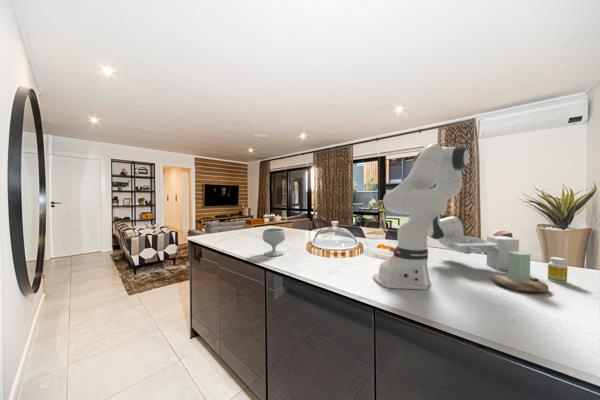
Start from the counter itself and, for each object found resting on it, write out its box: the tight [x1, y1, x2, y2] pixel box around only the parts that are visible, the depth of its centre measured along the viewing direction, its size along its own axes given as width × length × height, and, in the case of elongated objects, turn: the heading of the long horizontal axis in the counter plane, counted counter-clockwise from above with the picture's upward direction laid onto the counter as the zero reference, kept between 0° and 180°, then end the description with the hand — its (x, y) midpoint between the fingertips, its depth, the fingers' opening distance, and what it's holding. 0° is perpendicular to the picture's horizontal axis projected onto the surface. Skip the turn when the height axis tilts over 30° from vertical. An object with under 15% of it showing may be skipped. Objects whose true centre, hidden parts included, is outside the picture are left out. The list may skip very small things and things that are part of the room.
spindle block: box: [507, 251, 531, 283], centre depth 89 cm, size 4×4×11 cm
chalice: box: [262, 227, 286, 257], centre depth 138 cm, size 14×14×15 cm
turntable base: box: [498, 284, 541, 294], centre depth 89 cm, size 13×13×1 cm
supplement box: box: [486, 235, 520, 271], centre depth 111 cm, size 9×9×15 cm
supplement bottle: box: [547, 256, 568, 284], centre depth 94 cm, size 5×5×10 cm
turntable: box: [491, 273, 549, 293], centre depth 89 cm, size 16×16×2 cm
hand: (490, 251), depth 101 cm, fingers open, 8 cm apart
